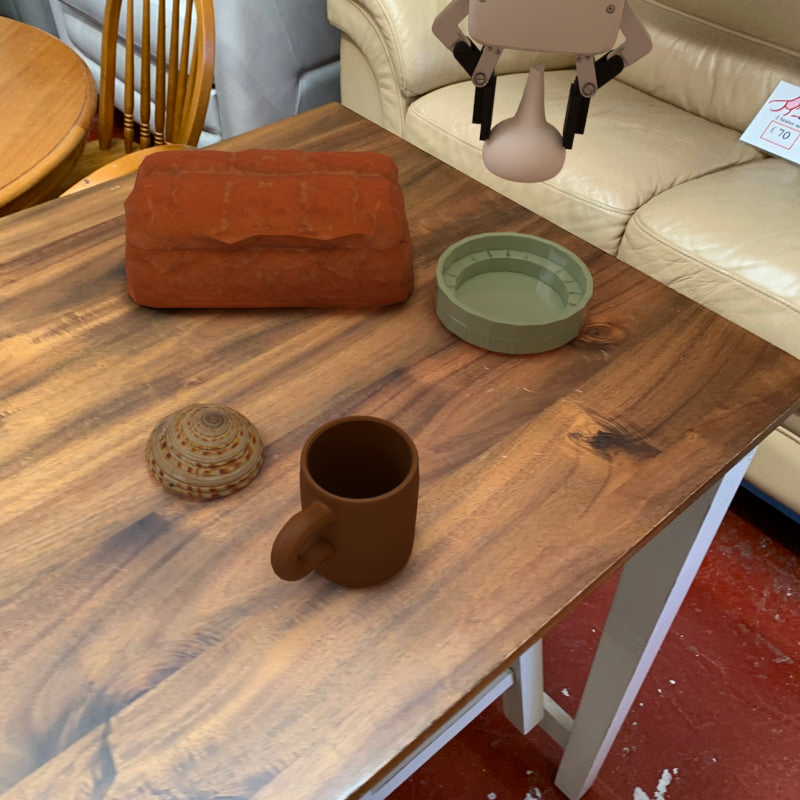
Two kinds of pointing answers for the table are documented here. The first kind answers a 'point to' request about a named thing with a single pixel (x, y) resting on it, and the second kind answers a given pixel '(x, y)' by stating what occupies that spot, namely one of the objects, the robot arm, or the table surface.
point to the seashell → (205, 451)
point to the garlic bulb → (526, 139)
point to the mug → (352, 505)
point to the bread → (267, 230)
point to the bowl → (512, 292)
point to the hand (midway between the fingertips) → (526, 134)
